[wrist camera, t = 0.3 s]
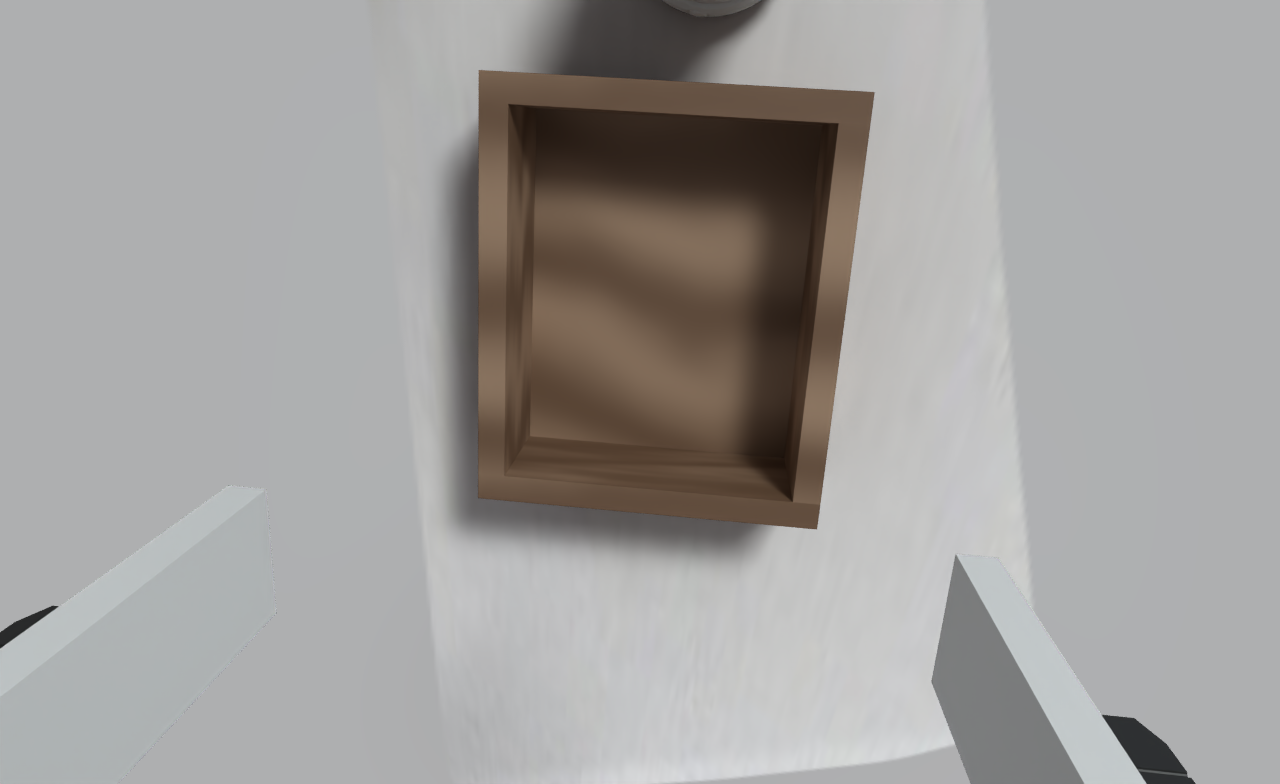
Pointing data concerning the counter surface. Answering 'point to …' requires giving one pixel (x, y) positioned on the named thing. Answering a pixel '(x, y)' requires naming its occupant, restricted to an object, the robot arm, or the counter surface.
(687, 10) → the mug
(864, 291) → the counter surface
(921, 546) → the counter surface
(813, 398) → the wooden box
